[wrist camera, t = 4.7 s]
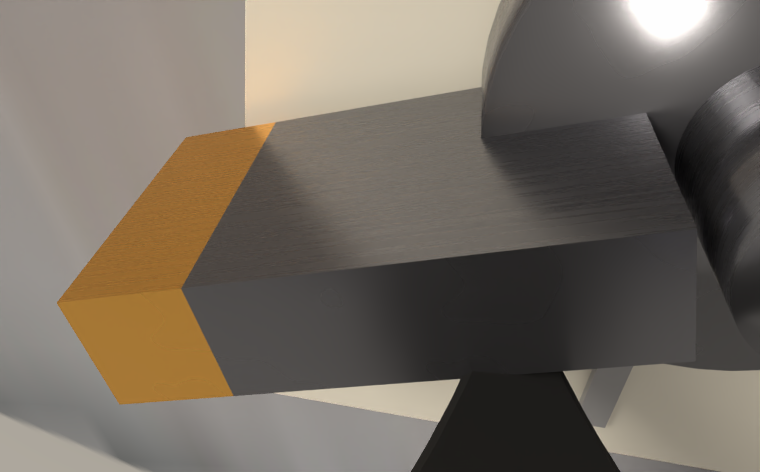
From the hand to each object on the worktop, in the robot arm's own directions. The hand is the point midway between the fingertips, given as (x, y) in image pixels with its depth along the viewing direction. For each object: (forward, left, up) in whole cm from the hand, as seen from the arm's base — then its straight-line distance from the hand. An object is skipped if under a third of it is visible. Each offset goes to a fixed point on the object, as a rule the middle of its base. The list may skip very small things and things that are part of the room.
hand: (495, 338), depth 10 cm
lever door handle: (-1, -3, -2) cm, 3 cm away
